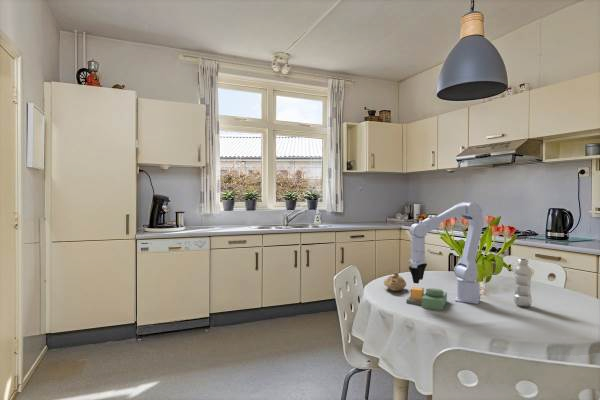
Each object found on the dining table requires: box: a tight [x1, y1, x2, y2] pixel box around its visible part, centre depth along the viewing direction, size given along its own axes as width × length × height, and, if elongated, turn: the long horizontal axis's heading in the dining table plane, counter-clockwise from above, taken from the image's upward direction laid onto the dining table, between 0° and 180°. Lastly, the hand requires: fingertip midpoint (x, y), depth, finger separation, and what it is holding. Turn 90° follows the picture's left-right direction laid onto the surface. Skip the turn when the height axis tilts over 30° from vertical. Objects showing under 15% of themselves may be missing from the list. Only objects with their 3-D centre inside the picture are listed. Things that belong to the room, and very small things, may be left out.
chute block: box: [410, 286, 425, 301], centre depth 160 cm, size 5×4×6 cm
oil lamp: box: [383, 271, 407, 292], centre depth 179 cm, size 11×15×8 cm
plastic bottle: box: [513, 258, 533, 308], centre depth 153 cm, size 6×7×20 cm
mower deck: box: [405, 287, 448, 311], centre depth 158 cm, size 15×14×6 cm
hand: (418, 281), depth 159 cm, fingers open, 7 cm apart
